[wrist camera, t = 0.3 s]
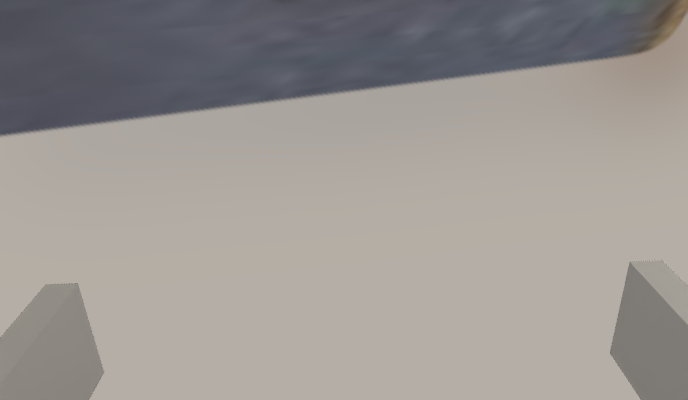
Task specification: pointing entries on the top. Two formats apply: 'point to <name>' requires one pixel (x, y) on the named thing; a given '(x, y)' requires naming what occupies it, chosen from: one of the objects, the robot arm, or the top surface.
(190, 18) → the top surface
